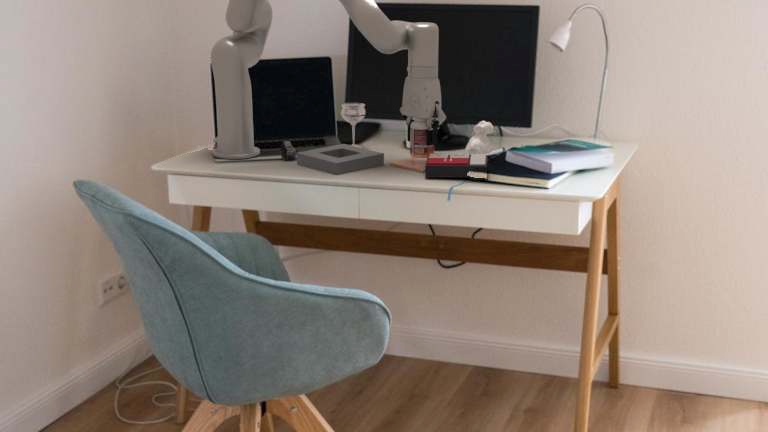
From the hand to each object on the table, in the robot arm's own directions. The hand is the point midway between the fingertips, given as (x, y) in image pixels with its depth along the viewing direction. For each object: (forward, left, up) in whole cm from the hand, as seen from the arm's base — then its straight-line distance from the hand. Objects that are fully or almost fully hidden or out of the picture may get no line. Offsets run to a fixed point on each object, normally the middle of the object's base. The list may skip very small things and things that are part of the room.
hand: (422, 142), depth 248 cm
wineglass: (-28, +1, -6) cm, 29 cm away
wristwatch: (-29, -21, -6) cm, 36 cm away
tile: (0, 0, -6) cm, 6 cm away
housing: (-15, -15, -6) cm, 22 cm away
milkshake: (-17, +13, -6) cm, 22 cm away
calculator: (+13, -1, -6) cm, 14 cm away
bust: (+5, +16, -6) cm, 18 cm away
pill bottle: (0, 0, -4) cm, 4 cm away
